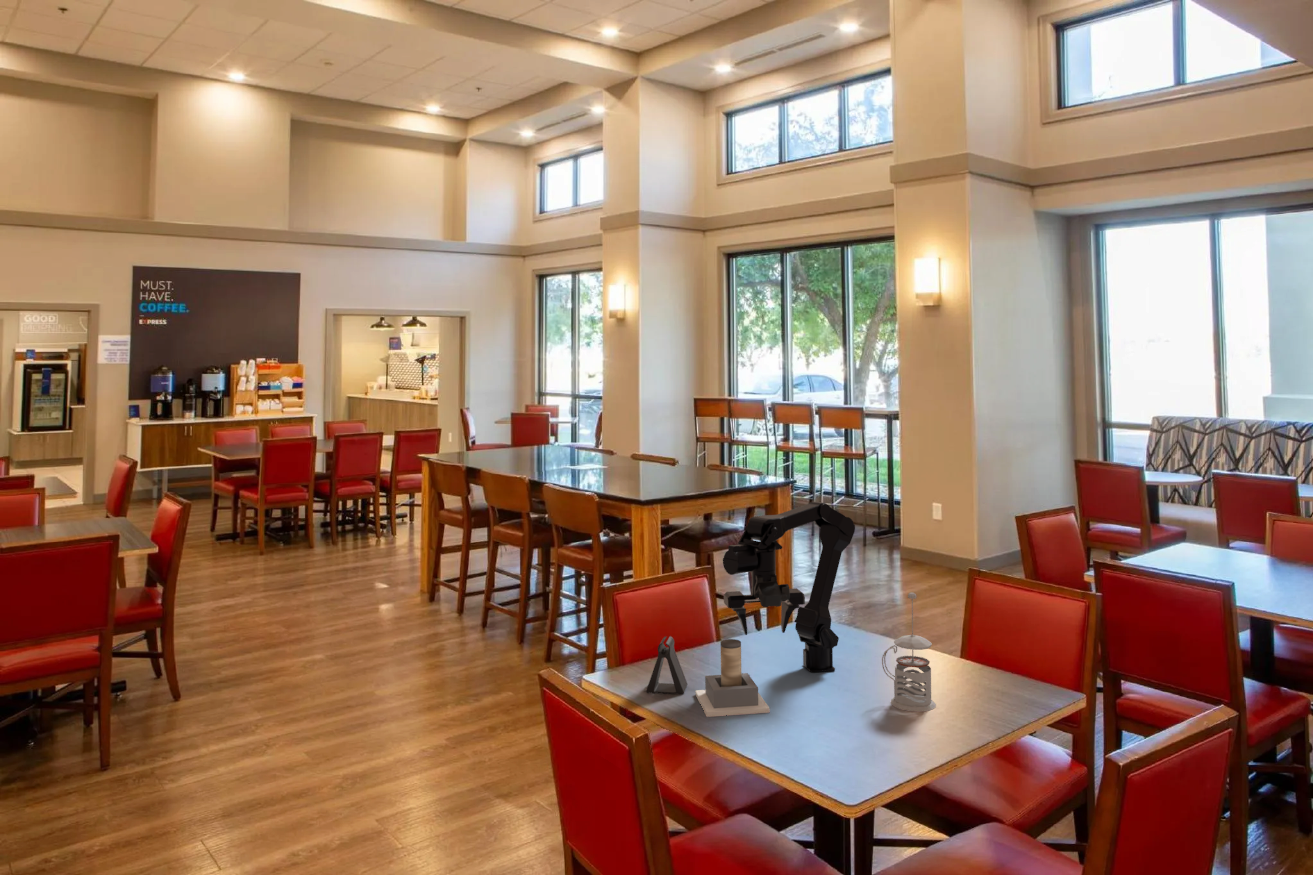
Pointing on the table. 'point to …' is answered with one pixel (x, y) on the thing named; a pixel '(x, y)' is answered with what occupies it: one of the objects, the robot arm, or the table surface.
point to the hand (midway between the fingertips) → (764, 633)
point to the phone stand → (675, 671)
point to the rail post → (731, 663)
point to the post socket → (730, 697)
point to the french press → (911, 674)
